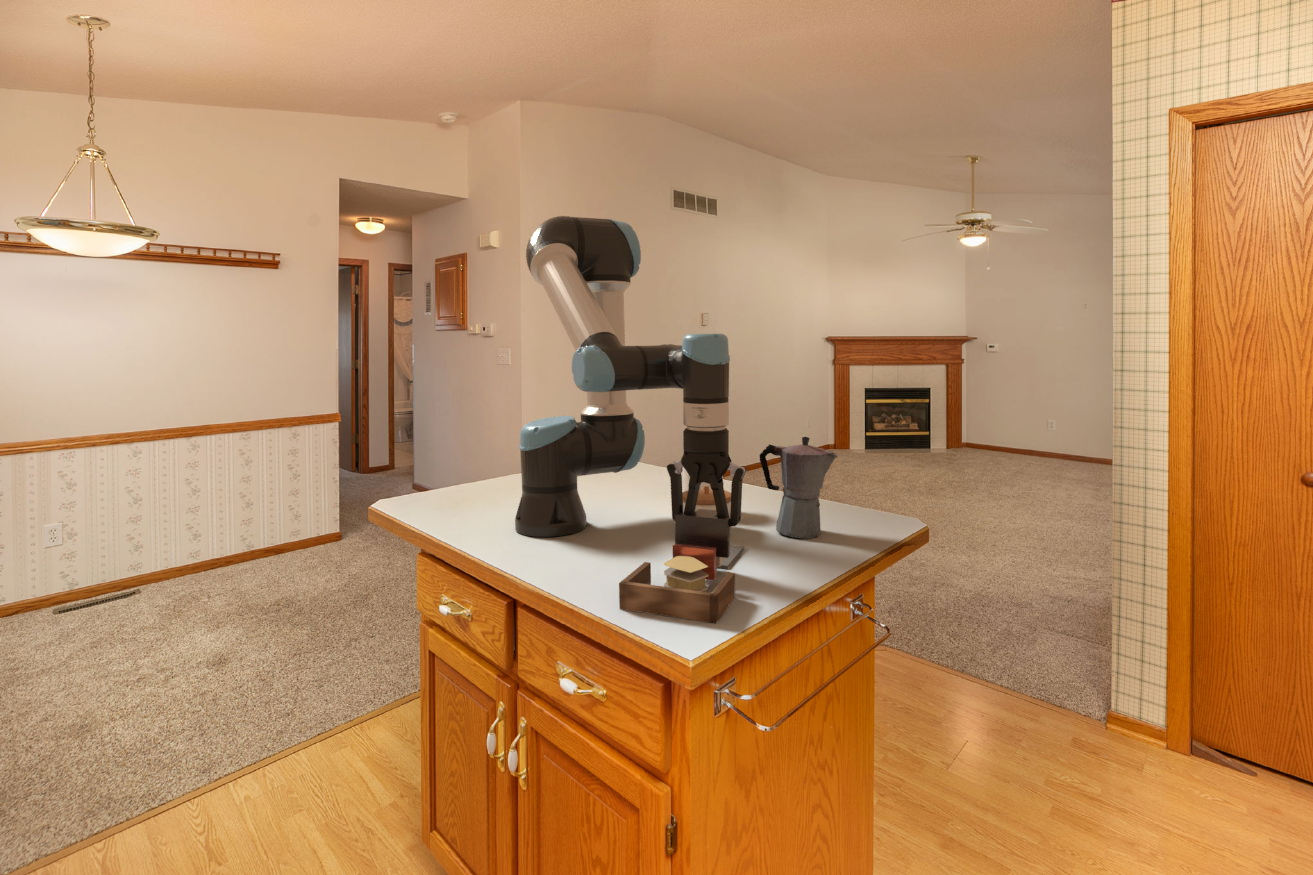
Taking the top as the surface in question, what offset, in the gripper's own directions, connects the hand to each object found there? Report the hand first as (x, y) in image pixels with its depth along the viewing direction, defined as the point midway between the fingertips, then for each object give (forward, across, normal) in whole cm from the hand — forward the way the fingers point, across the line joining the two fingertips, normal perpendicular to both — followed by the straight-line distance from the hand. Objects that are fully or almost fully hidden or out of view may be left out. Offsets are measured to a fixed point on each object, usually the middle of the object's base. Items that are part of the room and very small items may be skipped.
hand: (706, 562), depth 114 cm
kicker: (0, 0, -2) cm, 2 cm away
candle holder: (+2, -12, +37) cm, 39 cm away
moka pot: (+2, +10, +28) cm, 30 cm away
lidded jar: (+2, -8, +24) cm, 25 cm away
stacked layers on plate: (+2, 0, -11) cm, 11 cm away
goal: (+2, 0, -14) cm, 14 cm away
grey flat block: (+2, 0, +8) cm, 9 cm away
